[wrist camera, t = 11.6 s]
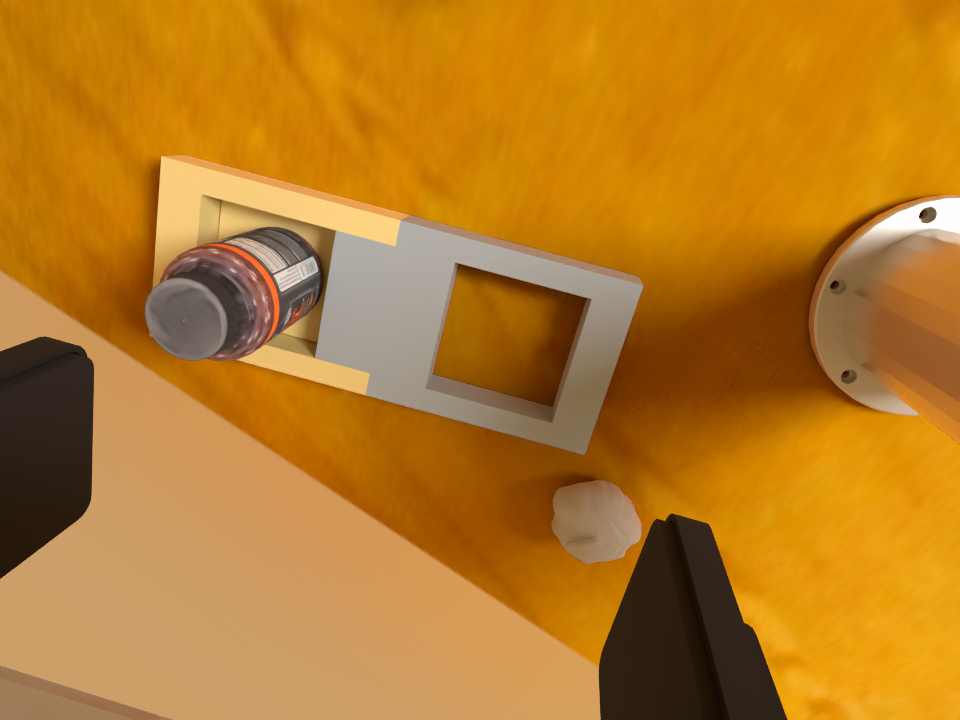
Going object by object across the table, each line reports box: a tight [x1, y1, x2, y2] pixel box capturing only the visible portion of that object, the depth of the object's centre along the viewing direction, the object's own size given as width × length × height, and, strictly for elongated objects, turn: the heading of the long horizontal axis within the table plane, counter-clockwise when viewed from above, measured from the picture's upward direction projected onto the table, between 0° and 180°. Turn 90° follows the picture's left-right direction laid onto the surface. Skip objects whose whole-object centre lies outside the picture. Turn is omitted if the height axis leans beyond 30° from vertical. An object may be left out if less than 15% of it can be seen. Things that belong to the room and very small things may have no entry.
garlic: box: [551, 480, 641, 564], centre depth 41 cm, size 6×5×5 cm
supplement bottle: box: [145, 227, 324, 361], centre depth 34 cm, size 6×6×11 cm
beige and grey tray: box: [150, 155, 644, 455], centre depth 39 cm, size 28×11×2 cm, turn 76°
